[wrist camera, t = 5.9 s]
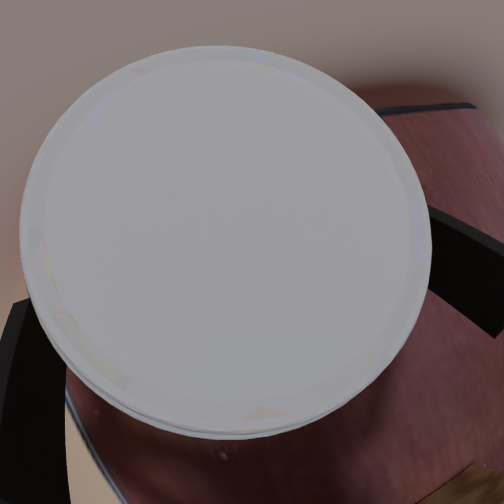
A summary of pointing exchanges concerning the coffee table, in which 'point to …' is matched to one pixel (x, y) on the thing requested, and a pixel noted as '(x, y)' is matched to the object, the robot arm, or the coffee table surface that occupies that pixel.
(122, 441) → the coffee table surface
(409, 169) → the coffee cup
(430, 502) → the wooden stand
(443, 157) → the coffee table surface
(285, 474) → the coffee table surface
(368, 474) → the coffee table surface
